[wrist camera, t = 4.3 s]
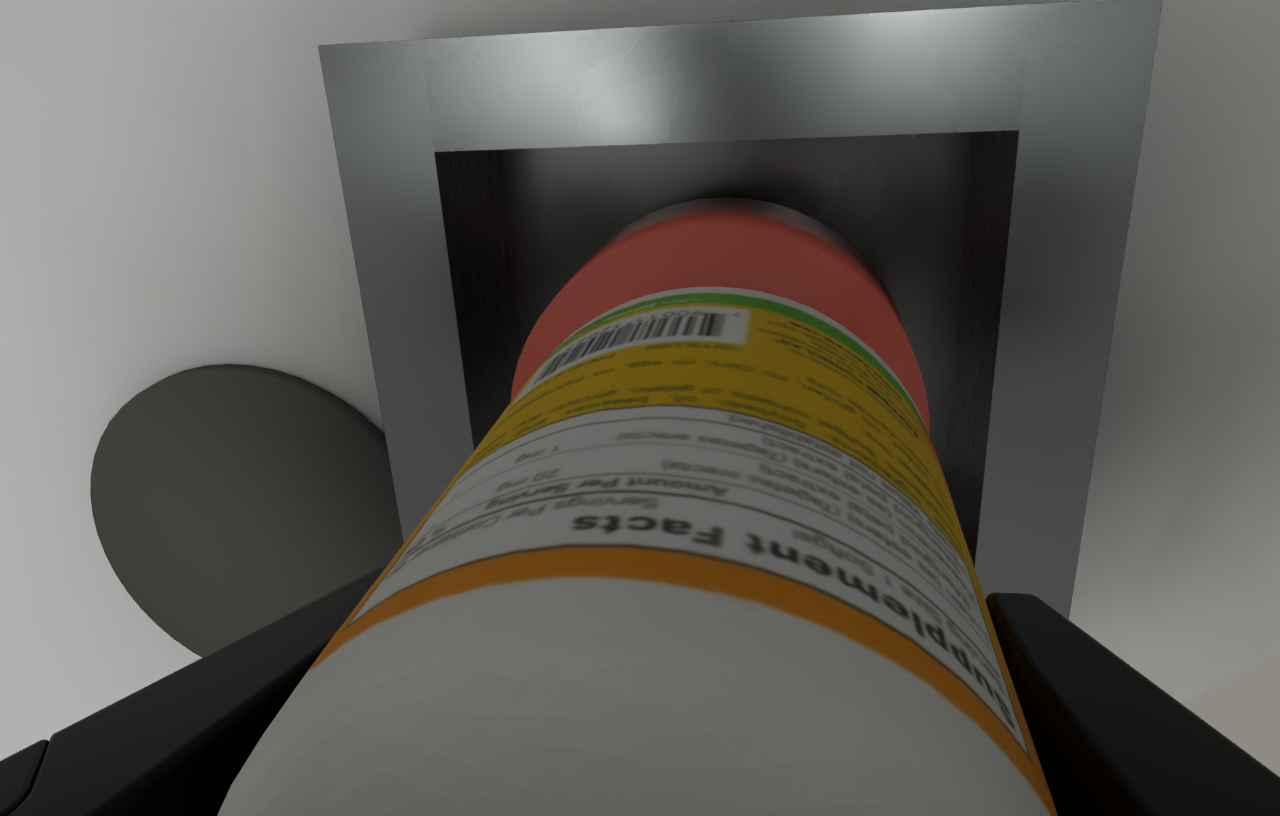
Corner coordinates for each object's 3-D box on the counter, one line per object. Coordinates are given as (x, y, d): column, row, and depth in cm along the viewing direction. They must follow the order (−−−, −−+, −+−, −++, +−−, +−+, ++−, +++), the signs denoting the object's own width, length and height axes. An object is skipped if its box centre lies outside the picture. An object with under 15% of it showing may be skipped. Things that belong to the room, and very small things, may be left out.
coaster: (409, 364, 18) (401, 371, 18) (459, 684, 21) (453, 696, 21) (59, 363, 20) (45, 370, 19) (153, 666, 23) (142, 676, 22)
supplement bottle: (774, 715, 13) (731, 2210, 4) (449, 523, 13) (-388, 1715, 4) (1029, 429, 11) (2144, 2344, 2) (642, 187, 10) (-275, 1139, 1)
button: (919, 191, 14) (946, 223, 11) (897, 537, 16) (915, 622, 14) (534, 202, 15) (488, 233, 12) (565, 527, 17) (530, 605, 15)
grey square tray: (1078, 4, 14) (1163, -4, 11) (1007, 598, 18) (1053, 718, 15) (412, 42, 16) (318, 45, 13) (485, 577, 20) (427, 681, 17)
